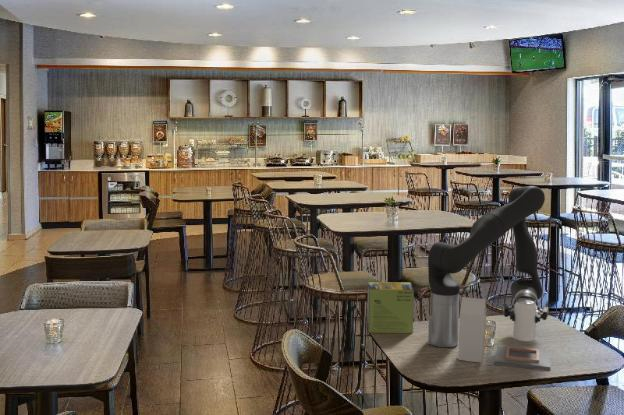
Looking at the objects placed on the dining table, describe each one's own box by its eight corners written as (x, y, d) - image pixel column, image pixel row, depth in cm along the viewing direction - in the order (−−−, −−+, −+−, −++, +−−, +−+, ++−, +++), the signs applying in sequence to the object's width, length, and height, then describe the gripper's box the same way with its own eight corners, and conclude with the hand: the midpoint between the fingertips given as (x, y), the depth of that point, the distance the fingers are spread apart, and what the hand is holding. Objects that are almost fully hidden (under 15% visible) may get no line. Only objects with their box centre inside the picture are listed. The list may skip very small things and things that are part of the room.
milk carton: (481, 363, 210) (484, 302, 207) (458, 360, 212) (460, 300, 210) (484, 355, 217) (486, 296, 214) (461, 352, 219) (463, 294, 216)
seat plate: (494, 364, 209) (494, 358, 209) (497, 348, 223) (497, 342, 223) (550, 370, 204) (550, 364, 204) (549, 353, 218) (549, 348, 218)
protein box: (413, 333, 238) (414, 289, 236) (368, 333, 238) (369, 289, 236) (409, 324, 249) (410, 281, 246) (366, 323, 249) (367, 281, 247)
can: (524, 343, 208) (525, 305, 207) (508, 337, 214) (510, 299, 212) (540, 339, 211) (541, 301, 210) (524, 333, 217) (525, 296, 215)
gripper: (503, 290, 227) (500, 305, 211) (549, 293, 223) (550, 308, 207) (502, 312, 228) (500, 328, 213) (548, 316, 224) (549, 333, 208)
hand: (525, 318), depth 210 cm, fingers closed on can, 6 cm apart
